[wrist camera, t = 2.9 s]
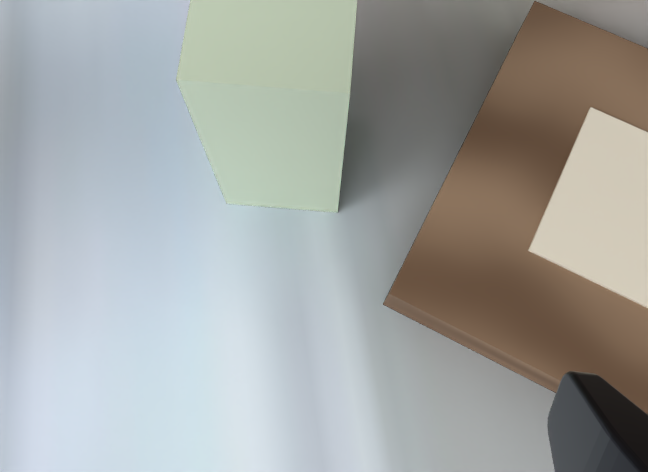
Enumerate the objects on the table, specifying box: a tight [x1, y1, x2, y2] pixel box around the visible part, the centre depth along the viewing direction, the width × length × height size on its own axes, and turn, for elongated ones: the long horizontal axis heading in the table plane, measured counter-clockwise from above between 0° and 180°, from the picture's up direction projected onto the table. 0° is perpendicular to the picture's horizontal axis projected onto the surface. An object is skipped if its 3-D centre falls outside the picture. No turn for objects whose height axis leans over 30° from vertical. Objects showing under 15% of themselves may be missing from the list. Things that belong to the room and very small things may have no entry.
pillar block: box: [176, 0, 357, 213], centre depth 20 cm, size 4×4×9 cm
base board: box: [383, 1, 648, 414], centre depth 23 cm, size 14×14×2 cm
